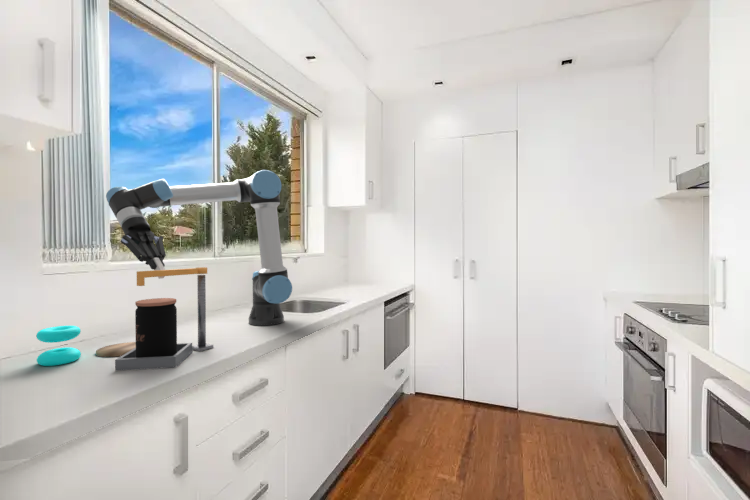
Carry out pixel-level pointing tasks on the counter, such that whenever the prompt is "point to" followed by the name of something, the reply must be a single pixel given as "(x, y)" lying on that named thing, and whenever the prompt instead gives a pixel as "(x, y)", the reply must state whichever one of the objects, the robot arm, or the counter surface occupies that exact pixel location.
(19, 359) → the counter surface
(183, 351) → the grey square tray
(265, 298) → the robot arm
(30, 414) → the counter surface
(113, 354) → the coaster
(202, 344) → the post
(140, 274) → the clip arm
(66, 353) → the donuts
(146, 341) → the coffee jar
